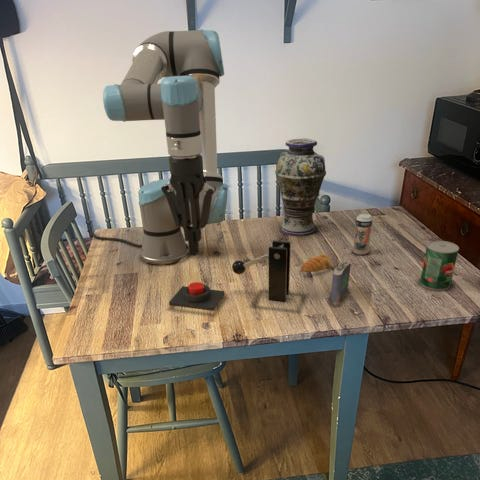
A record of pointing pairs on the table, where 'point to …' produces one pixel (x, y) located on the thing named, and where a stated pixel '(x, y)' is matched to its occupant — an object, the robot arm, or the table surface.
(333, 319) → the table surface
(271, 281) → the switch bracket
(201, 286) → the stop button
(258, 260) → the switch lever
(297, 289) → the table surface
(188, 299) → the stop box
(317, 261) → the pastry
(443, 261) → the canned tomato
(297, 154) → the vase
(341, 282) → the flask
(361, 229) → the spice shaker
